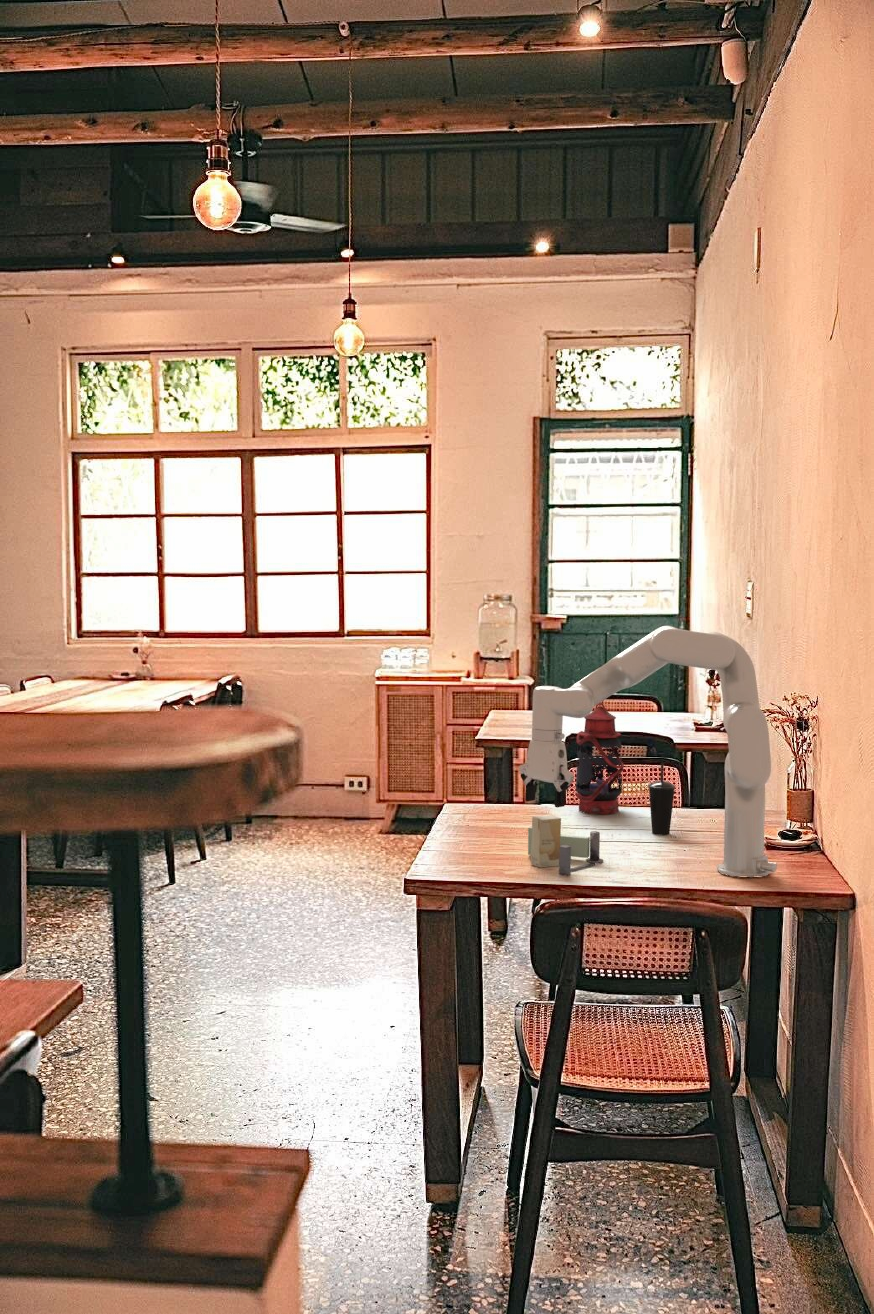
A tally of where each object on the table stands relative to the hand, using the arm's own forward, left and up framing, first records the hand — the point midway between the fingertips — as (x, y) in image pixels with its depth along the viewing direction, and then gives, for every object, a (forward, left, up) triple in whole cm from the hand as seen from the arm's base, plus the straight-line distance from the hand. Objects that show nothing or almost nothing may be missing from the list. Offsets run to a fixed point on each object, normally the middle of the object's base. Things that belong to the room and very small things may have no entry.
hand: (544, 803), depth 304 cm
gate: (+2, -8, -15) cm, 17 cm away
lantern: (+33, -65, -16) cm, 75 cm away
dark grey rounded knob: (-6, -12, -16) cm, 21 cm away
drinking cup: (+2, -52, -16) cm, 55 cm away
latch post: (-9, -2, -16) cm, 18 cm away
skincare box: (0, 0, -16) cm, 16 cm away
